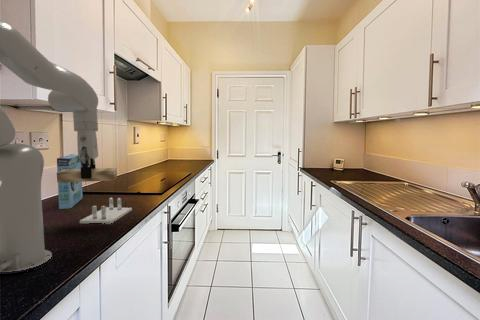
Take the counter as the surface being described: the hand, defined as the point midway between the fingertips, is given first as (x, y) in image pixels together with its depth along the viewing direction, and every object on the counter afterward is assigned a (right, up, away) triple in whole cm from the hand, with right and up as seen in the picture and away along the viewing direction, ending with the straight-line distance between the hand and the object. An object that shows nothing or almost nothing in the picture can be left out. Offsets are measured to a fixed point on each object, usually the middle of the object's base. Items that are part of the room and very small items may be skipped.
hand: (88, 176), depth 102 cm
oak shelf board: (0, -1, 0) cm, 1 cm away
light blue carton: (-26, -15, +33) cm, 45 cm away
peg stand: (0, -17, +14) cm, 22 cm away
